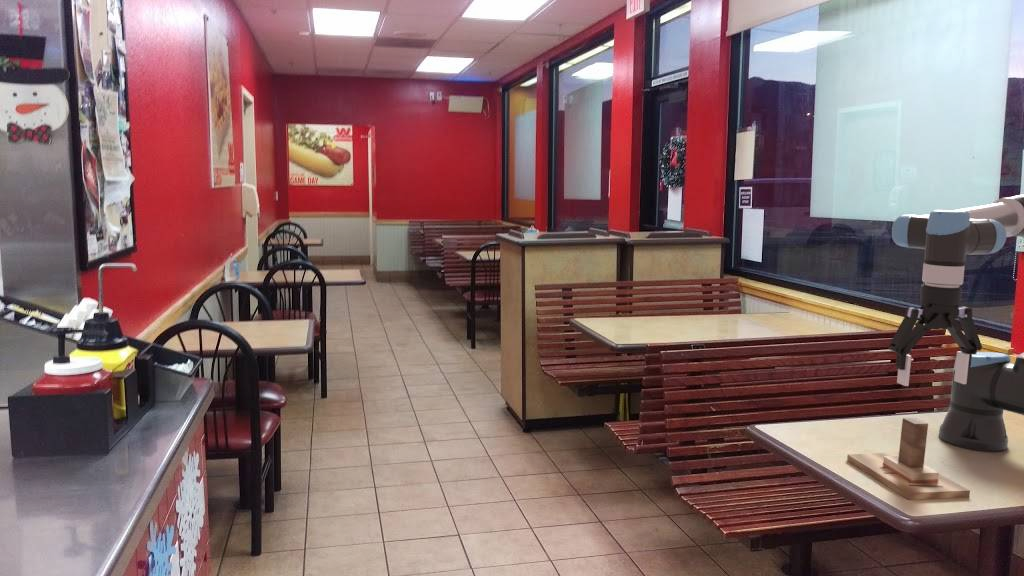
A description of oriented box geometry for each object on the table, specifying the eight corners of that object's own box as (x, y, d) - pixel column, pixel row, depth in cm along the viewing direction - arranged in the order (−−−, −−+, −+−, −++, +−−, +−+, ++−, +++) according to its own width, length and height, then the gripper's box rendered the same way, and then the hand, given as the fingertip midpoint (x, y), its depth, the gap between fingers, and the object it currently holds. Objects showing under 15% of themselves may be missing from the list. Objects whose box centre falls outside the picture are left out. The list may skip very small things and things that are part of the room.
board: (901, 458, 183) (902, 452, 183) (969, 497, 162) (970, 489, 161) (847, 460, 181) (847, 454, 181) (908, 499, 159) (909, 492, 159)
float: (907, 464, 175) (912, 413, 173) (938, 482, 165) (944, 428, 163) (882, 465, 174) (887, 413, 172) (912, 483, 164) (918, 428, 162)
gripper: (981, 281, 167) (970, 376, 170) (876, 282, 162) (867, 380, 166) (1008, 286, 159) (997, 386, 162) (899, 288, 155) (889, 390, 158)
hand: (931, 383), depth 164 cm, fingers open, 13 cm apart
